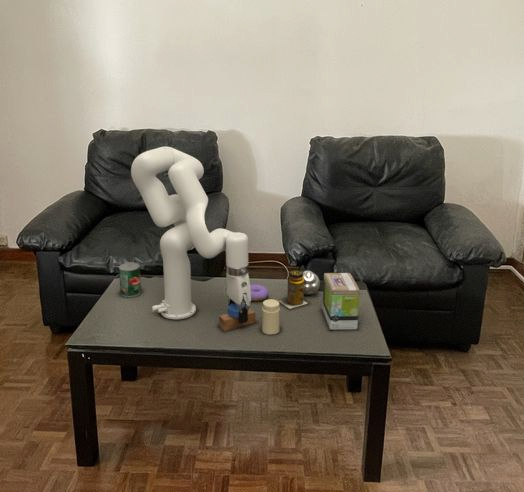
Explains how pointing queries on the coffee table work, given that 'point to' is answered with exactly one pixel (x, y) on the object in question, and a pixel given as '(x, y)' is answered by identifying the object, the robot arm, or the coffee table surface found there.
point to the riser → (235, 321)
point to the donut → (258, 292)
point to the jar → (270, 317)
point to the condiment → (295, 290)
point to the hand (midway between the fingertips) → (238, 317)
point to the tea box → (340, 301)
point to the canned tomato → (130, 279)
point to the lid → (234, 310)
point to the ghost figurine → (310, 283)
